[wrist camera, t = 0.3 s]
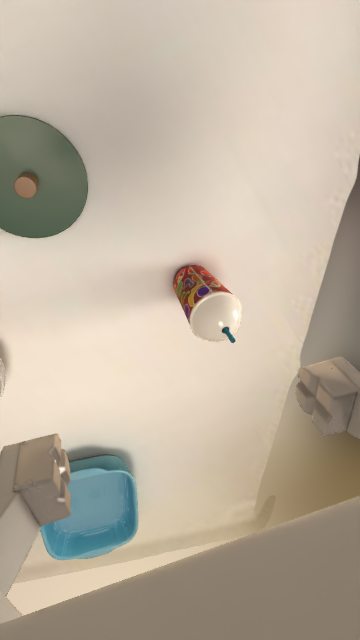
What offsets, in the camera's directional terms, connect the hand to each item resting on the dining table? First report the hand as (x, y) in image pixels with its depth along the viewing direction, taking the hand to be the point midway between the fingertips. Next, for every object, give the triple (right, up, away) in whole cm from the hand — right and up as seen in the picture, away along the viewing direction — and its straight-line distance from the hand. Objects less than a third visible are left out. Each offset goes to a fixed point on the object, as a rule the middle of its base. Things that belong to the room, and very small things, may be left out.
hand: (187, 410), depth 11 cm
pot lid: (-21, +22, +36) cm, 47 cm away
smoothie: (+2, +10, +51) cm, 52 cm away
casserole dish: (-23, -40, +75) cm, 88 cm away
